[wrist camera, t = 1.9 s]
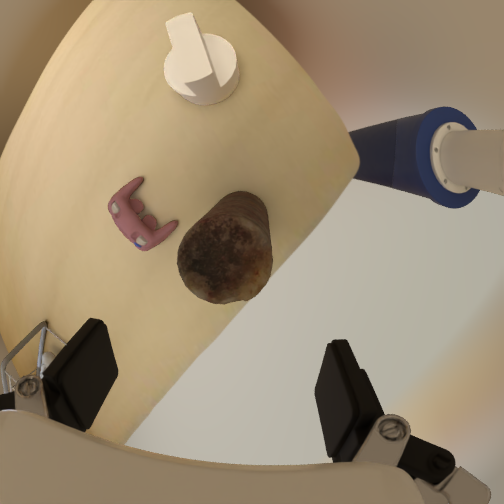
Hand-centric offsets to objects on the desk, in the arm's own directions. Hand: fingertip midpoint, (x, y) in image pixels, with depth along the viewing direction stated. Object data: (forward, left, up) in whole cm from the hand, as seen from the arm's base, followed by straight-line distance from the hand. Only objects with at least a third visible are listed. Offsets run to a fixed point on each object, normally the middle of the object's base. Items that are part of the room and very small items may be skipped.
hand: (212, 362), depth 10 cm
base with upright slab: (+6, -20, -30) cm, 37 cm away
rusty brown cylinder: (0, 0, -30) cm, 30 cm away
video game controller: (+14, 0, -30) cm, 33 cm away
